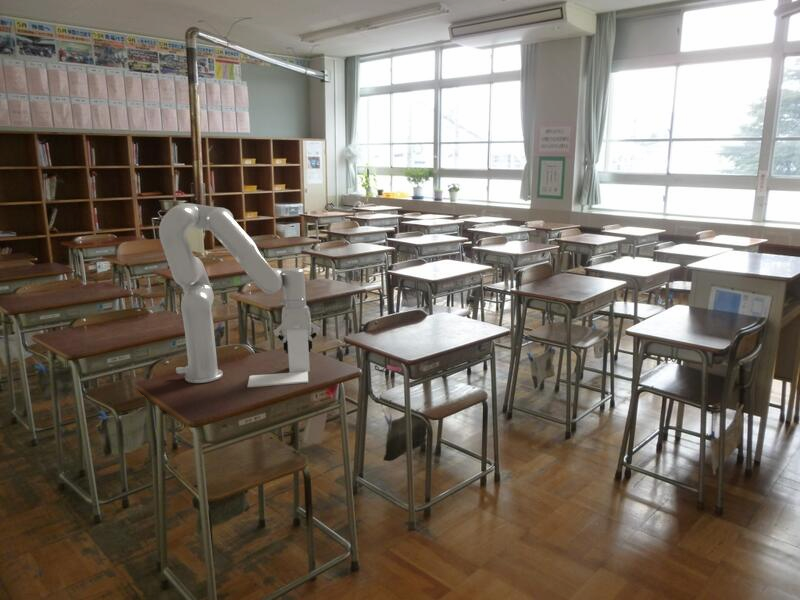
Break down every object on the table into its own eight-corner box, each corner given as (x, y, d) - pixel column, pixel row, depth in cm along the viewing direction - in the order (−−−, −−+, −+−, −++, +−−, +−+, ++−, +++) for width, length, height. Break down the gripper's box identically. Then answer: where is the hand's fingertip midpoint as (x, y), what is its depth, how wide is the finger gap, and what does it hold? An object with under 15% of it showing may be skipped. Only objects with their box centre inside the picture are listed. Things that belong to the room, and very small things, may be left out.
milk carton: (289, 367, 223) (285, 316, 218) (308, 365, 224) (305, 315, 220) (289, 373, 216) (286, 321, 212) (309, 371, 217) (306, 320, 213)
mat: (247, 387, 203) (247, 385, 203) (250, 377, 213) (249, 375, 213) (308, 382, 206) (308, 381, 206) (307, 373, 216) (307, 371, 216)
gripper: (269, 307, 210) (273, 356, 214) (320, 304, 212) (323, 353, 216) (270, 302, 217) (274, 350, 221) (319, 299, 219) (322, 346, 223)
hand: (298, 351), depth 218 cm, fingers closed on milk carton, 7 cm apart
